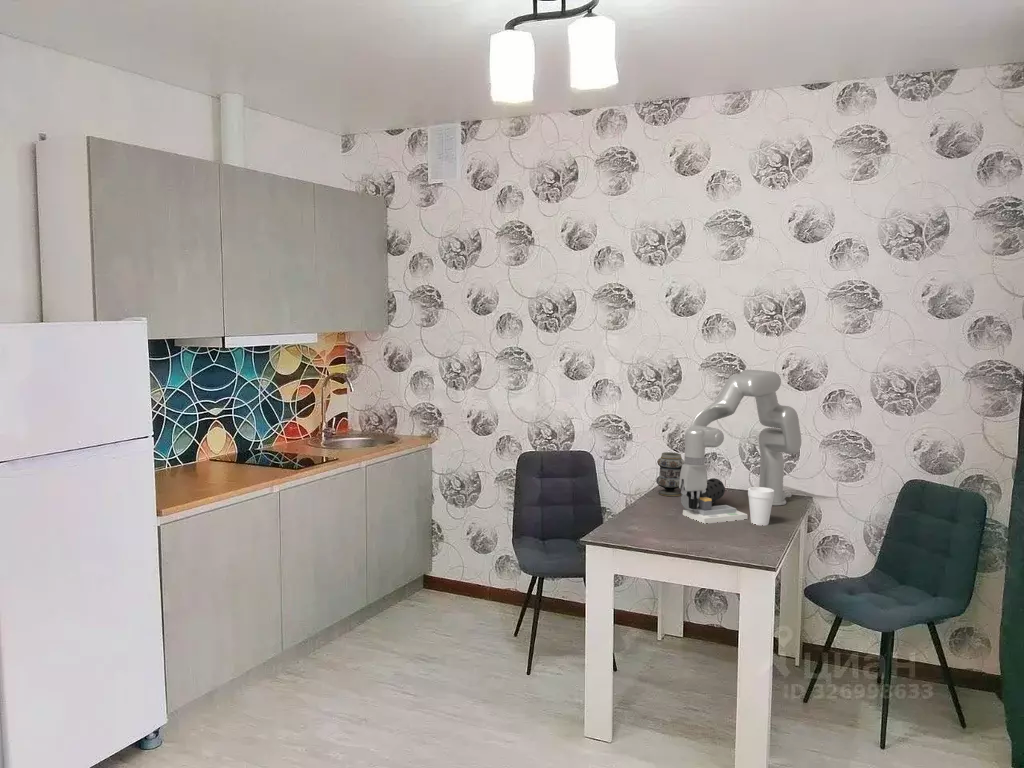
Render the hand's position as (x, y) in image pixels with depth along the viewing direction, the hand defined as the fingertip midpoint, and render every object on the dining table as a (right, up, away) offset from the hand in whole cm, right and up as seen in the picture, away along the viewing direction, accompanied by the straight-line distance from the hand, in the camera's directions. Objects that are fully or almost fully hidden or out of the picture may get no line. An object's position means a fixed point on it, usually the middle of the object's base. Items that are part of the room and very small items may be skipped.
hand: (692, 508), depth 307 cm
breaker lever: (+5, -2, +2) cm, 6 cm away
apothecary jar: (0, -1, +44) cm, 44 cm away
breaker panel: (+10, -4, +4) cm, 11 cm away
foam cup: (+24, -5, -4) cm, 25 cm away
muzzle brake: (+8, -3, +17) cm, 19 cm away
